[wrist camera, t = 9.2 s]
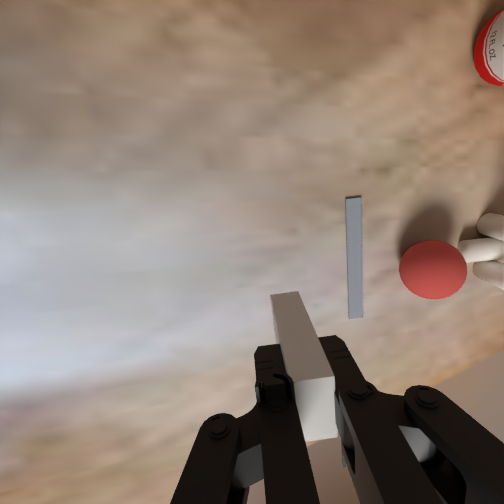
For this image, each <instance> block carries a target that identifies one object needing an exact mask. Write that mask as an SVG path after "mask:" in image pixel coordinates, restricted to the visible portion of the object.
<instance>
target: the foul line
mask: <svg viewBox="0 0 504 504" xmlns="http://www.w3.org/2000/svg"><path fill="white" fill-rule="evenodd" d="M345 203H346V239H347V275H348V310H349V319H353V318H362V317H363V285H362V208H361V197H358V198H350V199H345Z"/></svg>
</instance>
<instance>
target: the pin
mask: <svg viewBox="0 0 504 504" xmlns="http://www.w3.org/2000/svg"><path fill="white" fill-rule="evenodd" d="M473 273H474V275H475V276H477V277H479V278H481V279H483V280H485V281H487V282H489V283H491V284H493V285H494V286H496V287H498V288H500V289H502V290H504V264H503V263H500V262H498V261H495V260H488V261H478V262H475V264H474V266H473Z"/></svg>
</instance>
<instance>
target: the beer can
mask: <svg viewBox="0 0 504 504" xmlns="http://www.w3.org/2000/svg"><path fill="white" fill-rule="evenodd" d="M473 58H474V63H475V68H476V70H477V72H478V73H479V75H480V77H481V78H482V79H484V80H485V81H486V82H488V83H490V84H494V85H497V86H503V85H504V9H503V10H501V11H500V12H498V13H497V14H496V15H495V16H493V17H492V18H491V19H490V20H489V21H488V22H487V23H486V24H485V26H484V27H483V29H482V30H481V32H480V33H479V35H478V38H477V41H476V43H475V47H474V57H473Z"/></svg>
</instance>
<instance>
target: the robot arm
mask: <svg viewBox="0 0 504 504" xmlns="http://www.w3.org/2000/svg"><path fill="white" fill-rule="evenodd" d="M270 297H271V305H272V314H273V322H274V330H275V339H276V344H273V345H266V346H258V348H257V350H256V352H255V354H254V359H255V370H256V384H255V392H256V398H257V403H256V405H255V406H254V408H253V409H252V410H251V411H250V412H248V413H247V414H245V415H243V416H241V417H239V418H235V417H234V416H232V415H230V414H226V413H221V414H216V415H213V416H211V417H209V418H208V419H207V420H206V421H204V423H203V424H202V426H201V427H200V429H199V432H198V434H197V437H196V440H195V442H194V445H193V447H192V450H191V452H190V455H189V457H188V460H187V462H186V465H185V467H184V470H183V472H182V475H181V477H180V480H179V482H178V485H177V487H176V490H175V492H174V495H173V498H172V500H171V503H170V504H247V499H248V494H249V486H250V485H252V484H254V483H256V482H258V481H260V480H262V479H264V484H265V496H266V504H320V502H319V498H318V493H317V489H316V485H315V481H314V477H313V472H312V469H311V464H310V460H309V455H308V452H307V447H306V443H305V442H306V441H313V440H320V439H327V438H335V437H337V428H338V431H339V434H340V436H341V446H342V464H343V467H346V464H347V467H348V470H349V472H350V475H351V478H352V481H353V484H354V487H355V489H356V493H357V495H358V498H359V501H360V504H504V444H503V442H501V441H500V440H499V439H498V438H496V437H495V436H494V435H493V434H491V433H490V432H489V431H488V430H487V429H486V428H484V427H483V426H482V425H481V424H479V423H478V422H477V421H476V420H475V419H473V418H472V417H471V416H470V415H469V414H467V413H466V412H465V411H464V410H462V409H461V408H460V407H459V406H458V405H456V404H455V403H454V402H453V401H452V400H450V399H449V398H448V397H447V396H445V395H444V394H443V393H441V392H440V391H438V390H437V389H434V388H431V387H429V386H422V385H417V386H411V387H410V388H408V389H407V390H406V392H405V394H404V396H401V395H392V394H386V393H383V392H380V391H378V390H377V389H376V388H375V386H374V385H373V384H371V383H369V382H368V381H366V380H365V379H364V377H363V375H362V373H361V371H360V370H359V368H358V366H357V364H356V362H355V360H354V359H353V357H352V355H351V353H350V351H348V348H347V346H346V344H345V342H344V341H343V340H341V339H340V338H339V337H337V336H336V335H333V336H326V337H319V338H318V337H317V334H316V332H315V330H314V327H313V325H312V323H311V320H310V318H309V316H308V313H307V311H306V309H305V306H304V304H303V302H302V299H301V297H300V295H299V292H298V291H296V292H289V293H282V294H274V295H270Z"/></svg>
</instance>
